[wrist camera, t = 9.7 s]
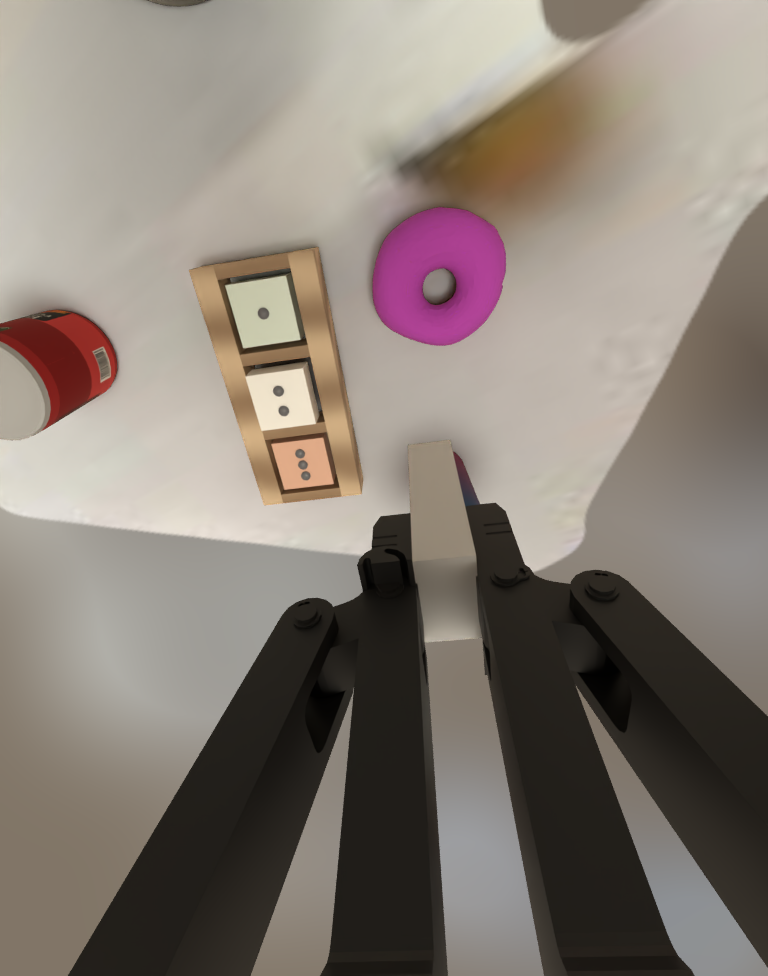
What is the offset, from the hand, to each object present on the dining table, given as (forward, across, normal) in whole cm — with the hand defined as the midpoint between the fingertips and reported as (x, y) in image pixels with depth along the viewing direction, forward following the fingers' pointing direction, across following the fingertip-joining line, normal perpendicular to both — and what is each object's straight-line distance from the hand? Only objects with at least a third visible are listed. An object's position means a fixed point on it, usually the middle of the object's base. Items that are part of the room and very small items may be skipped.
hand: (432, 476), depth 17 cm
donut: (+29, +2, +3) cm, 29 cm away
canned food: (+29, -31, +2) cm, 42 cm away
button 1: (+28, -12, +3) cm, 30 cm away
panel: (+28, -12, -4) cm, 31 cm away
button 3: (+28, -12, -11) cm, 32 cm away
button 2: (+26, -12, -4) cm, 29 cm away
